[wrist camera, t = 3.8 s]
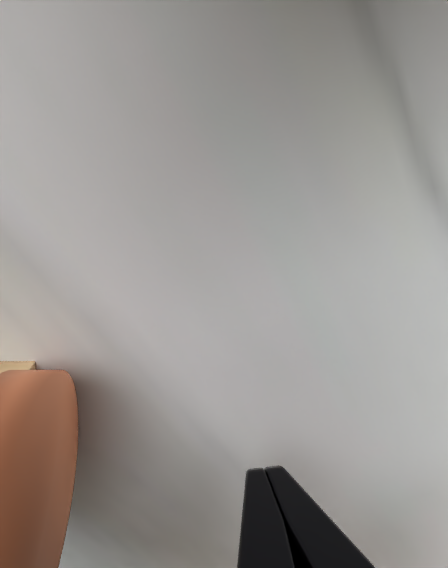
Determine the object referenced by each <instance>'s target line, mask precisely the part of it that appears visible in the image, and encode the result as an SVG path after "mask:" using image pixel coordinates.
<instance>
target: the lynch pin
mask: <svg viewBox="0 0 448 568" xmlns="http://www.w3.org/2000/svg"><path fill="white" fill-rule="evenodd" d="M77 449H78V405H77V396H76V391H75V386H74V383H73V380H72V378H71V376H70V375H69V373H68V372H66V371H65V370H36V366H35V361H0V568H58V567H59V562H60V558H61V554H62V550H63V545H64V540H65V535H66V530H67V525H68V520H69V514H70V508H71V502H72V495H73V488H74V480H75V472H76V462H77Z"/></svg>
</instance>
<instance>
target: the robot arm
mask: <svg viewBox="0 0 448 568" xmlns="http://www.w3.org/2000/svg"><path fill="white" fill-rule="evenodd" d="M237 568H375V567H374V566H373V565H372V564H371V562H370V561H369V560H368V559H367V558H366V557H365V556H364V555H363V554H362V553H361V552H360V550H359V549H358V548H357V547H356V546H355V545H354V544H353V543H352V542H351V541H350V540H349V538H348V537H347V536H346V535H345V534H344V533H343V532H342V531H341V530H340V529H339V528H338V526H337V525H336V524H335V523H334V522H333V521H332V520H331V519H330V518H329V517H328V516H327V514H326V513H325V512H324V511H323V510H322V509H321V508H320V507H319V506H318V505H317V504H316V503H315V501H314V500H313V499H312V498H311V497H310V496H309V495H308V494H307V493H306V492H305V491H304V489H303V488H302V487H301V486H300V485H299V484H298V483H297V482H296V481H295V480H294V479H293V477H292V476H291V475H290V474H289V473H288V472H287V471H286V470H285V469H284V468H283V467H282V466H272V467H266V468H265V469H263V468H254V469H248V470H247V472H246V480H245V491H244V501H243V512H242V523H241V533H240V544H239V554H238V565H237Z"/></svg>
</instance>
